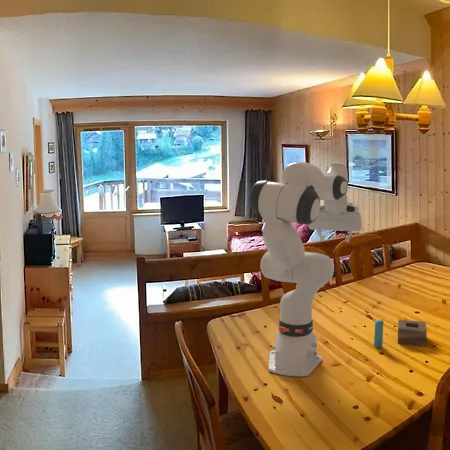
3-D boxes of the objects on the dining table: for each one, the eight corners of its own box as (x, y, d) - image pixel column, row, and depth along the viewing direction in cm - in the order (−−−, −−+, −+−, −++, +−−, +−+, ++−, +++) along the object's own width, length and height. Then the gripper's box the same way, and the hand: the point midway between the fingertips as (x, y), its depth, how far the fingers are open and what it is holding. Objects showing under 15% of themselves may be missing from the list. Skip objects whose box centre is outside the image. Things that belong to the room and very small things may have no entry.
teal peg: (382, 348, 197) (383, 322, 195) (373, 347, 198) (374, 322, 196) (382, 345, 200) (383, 320, 198) (374, 344, 201) (375, 319, 199)
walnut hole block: (425, 346, 199) (426, 331, 198) (397, 343, 202) (398, 328, 201) (424, 336, 208) (425, 322, 207) (397, 334, 211) (398, 319, 210)
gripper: (307, 206, 203) (306, 242, 206) (362, 208, 198) (361, 244, 200) (309, 204, 209) (308, 239, 212) (362, 205, 203) (361, 241, 206)
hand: (334, 241), depth 206 cm, fingers open, 8 cm apart
